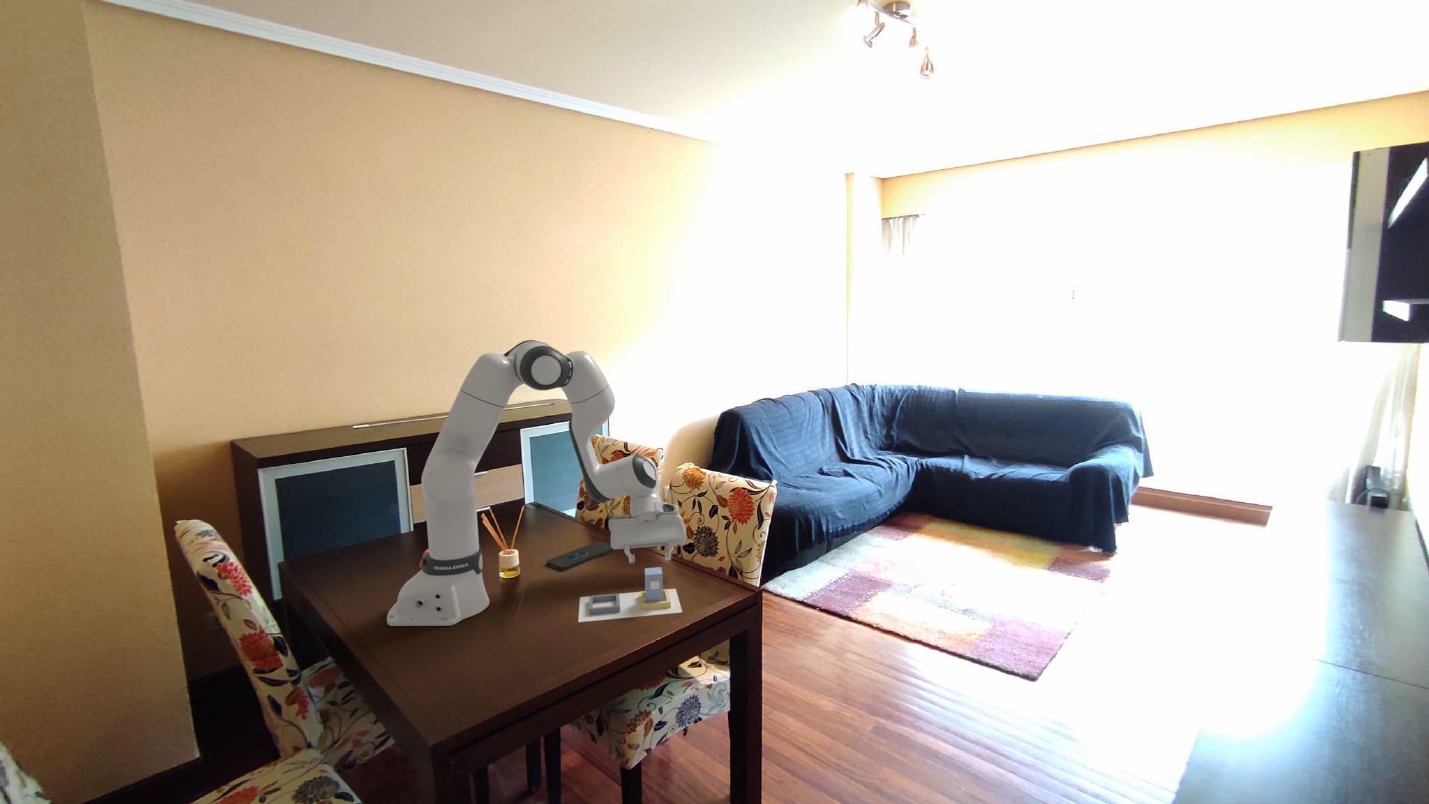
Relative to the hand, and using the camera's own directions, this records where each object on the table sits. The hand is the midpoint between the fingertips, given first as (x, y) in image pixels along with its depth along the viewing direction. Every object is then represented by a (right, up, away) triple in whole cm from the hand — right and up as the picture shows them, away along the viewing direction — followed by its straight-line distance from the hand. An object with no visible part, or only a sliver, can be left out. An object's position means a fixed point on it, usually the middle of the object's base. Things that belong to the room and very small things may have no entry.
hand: (650, 561), depth 162 cm
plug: (+2, -7, -11) cm, 13 cm away
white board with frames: (-4, -8, -12) cm, 15 cm away
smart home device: (-22, -5, +20) cm, 30 cm away
